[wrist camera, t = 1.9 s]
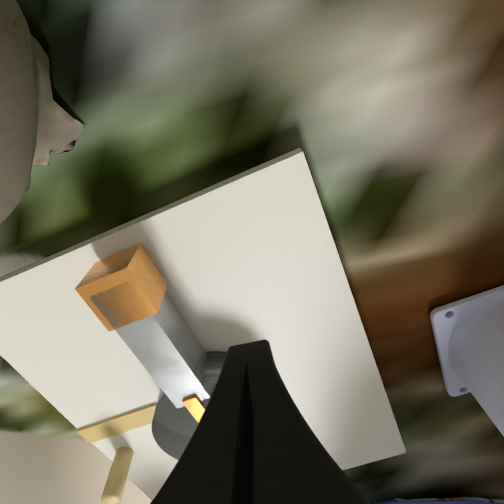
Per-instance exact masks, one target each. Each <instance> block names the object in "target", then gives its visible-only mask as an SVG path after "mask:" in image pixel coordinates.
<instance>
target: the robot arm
mask: <svg viewBox="0 0 504 504" xmlns="http://www.w3.org/2000/svg"><path fill="white" fill-rule="evenodd" d="M449 311H450V312H449ZM447 312H449V313H447ZM446 313H447V314H446ZM430 320H431V324H432V329H433V333H434V338H435V342H436V347H437V351H438V356H439V360H440V365H441V370H442V374H443V379H444V383H445V388H446V391H447V393H448V394H449V395H450V396H453V397H456V396H460V395H463V394H466V393H470V392H471V393H472V395H473V396H474V397H475V399H476V400H477V401H478V403H479V404H480V405H481V407H482V408H483V410H484V411H485V412H486V414H487V415H488V416H489V418H490V419H491V420H492V422H493V423H494V424H495V426H496V427H497V428H498V430H499V431H500V432H501V434H502V435H503V436H504V285H503V286H500V287H497V288H494V289H491V290H488V291H485V292H482V293H479V294H476V295H473V296H470V297H467V298H464V299H461V300H458V301H455V302H452V303H449V304H447V305H444V306H441V307H438V308H435V309H434V310H432V311H431V313H430ZM150 504H370V502H369V501H368V500H367V499H366V498H365V497H364V496H363V494H362V493H361V492H360V491H359V490H358V489H357V488H356V486H355V485H354V484H353V483H352V482H351V481H350V479H349V478H348V477H347V476H346V474H345V473H344V472H343V471H342V469H341V468H340V467H339V466H338V464H337V463H336V462H335V461H334V459H333V458H332V457H331V456H330V454H329V453H328V452H327V450H326V449H325V448H324V446H323V445H322V444H321V442H320V441H319V439H318V438H317V437H316V435H315V434H314V432H313V431H312V429H311V428H310V427H309V425H308V424H307V422H306V421H305V419H304V417H303V416H302V414H301V413H300V411H299V409H298V408H297V406H296V404H295V403H294V401H293V399H292V398H291V396H290V394H289V392H288V390H287V388H286V386H285V384H284V383H283V381H282V379H281V377H280V374H279V372H278V370H277V368H276V365H275V362H274V358H273V355H272V351H271V347H270V343H269V341H267V340H266V339H264V340H259V341H254V342H249V343H244V344H239V345H235V346H230V347H229V349H228V351H227V354H226V357H225V360H224V364H223V366H222V369H221V372H220V375H219V377H218V380H217V383H216V385H215V388H214V390H213V392H212V395H211V397H210V400H209V402H208V404H207V406H206V409H205V411H204V413H203V415H202V417H201V419H200V421H199V423H198V425H197V427H196V429H195V431H194V433H193V435H192V437H191V439H190V441H189V443H188V444H187V446H186V448H185V450H184V452H183V453H182V455H181V457H180V459H179V460H178V462H177V463H176V465H175V467H174V468H173V470H172V471H171V473H170V475H169V476H168V478H167V479H166V481H165V483H164V484H163V486H162V487H161V489H160V490H159V492H158V493H157V495H156V496H155V498H154V499H153V500H152V502H151V503H150Z"/></svg>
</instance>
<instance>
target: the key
mask: <svg viewBox="0 0 504 504" xmlns="http://www.w3.org/2000/svg"><path fill="white" fill-rule="evenodd" d="M167 285H168V284H167V282H166V281H165V279H164V278H163V276H162V275H161V273H160V272H159V270H158V268H157V267H156V265H155V264H154V262H153V261H152V259H151V258H150V256H149V254H148V253H147V251H146V250H145V248H144V247H143V245H142V244H141V243H140V244H138V245H136V246H133V247H131V248H128V249H126V250H124V251H121V252H119V253H116V254H114V255H112V256H109V257H107V258H105V259H102V260H100V261H97V262H95V264H94V265H93V266H92V267H91V269H90V270H89V271H88V273H87V274H86V275H85V276H84V278H83V279H82V280H81V282H80V283H79V284H78V285H77V287H76V288H75V290H76V291H77V293H78V294H79V295H80V296H81V297H82V299H83V300H84V301H85V302H86V304H87V305H88V306H89V307H90V309H91V310H92V311H93V312H94V314H95V315H96V316H97V317H98V319H99V320H100V321H101V322H102V324H103V325H104V326H105V327H106V329H107V330H108V331H109V332H110V331H112V330H115V331H116V332H117V333H118V335H119V336H120V337H121V338H122V340H123V341H124V342H125V343H126V345H127V346H128V347H129V348H130V350H131V351H132V352H133V353H134V355H135V356H136V357H137V359H138V360H139V361H140V362H141V364H142V365H143V366H144V367H145V369H146V370H147V371H148V372H149V374H150V375H151V376H152V377H153V379H154V380H155V381H156V383H157V384H158V385H159V386H160V392H159V396H158V400H157V404H156V408H155V412H154V416H153V420H152V427H151V428H152V434H153V437H154V439H155V441H156V443H157V444H158V446H159V447H160V448H161V449H162V450H163V451H164V452H165V453H167V454H168V455H170V456H171V457H173V458H175V459H177V460H179V459H180V457H181V455H182V453H183V452H184V450H185V448H186V446H187V444H188V443H189V441H190V439H191V437H192V435H193V433H194V431H195V429H196V427H197V425H198V423H199V421H200V419H201V417H202V415H203V413H204V411H205V409H206V406H207V404H208V402H209V400H210V397H211V395H212V392H213V390H214V388H215V385H216V383H217V380H218V377H219V375H220V372H221V369H222V366H223V364H224V360H225V357H226V354H227V352H223V351H210V352H205V350H204V349H203V347H202V346H201V344H200V343H199V341H198V340H197V338H196V337H195V335H194V334H193V332H192V330H191V329H190V327H189V326H188V324H187V323H186V321H185V320H184V318H183V317H182V315H181V314H180V312H179V311H178V309H177V308H176V306H175V304H174V303H173V301H172V300H171V298H170V297H169V295H168V294H167V292H166V288H167Z"/></svg>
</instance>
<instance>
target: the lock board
mask: <svg viewBox="0 0 504 504" xmlns="http://www.w3.org/2000/svg"><path fill="white" fill-rule="evenodd" d="M140 243H141V244H142V245H143V247H144V248H145V250H146V251H147V253H148V254H149V256H150V258H151V259H152V261H153V262H154V264H155V265H156V267H157V268H158V270H159V272H160V273H161V275H162V276H163V278H164V279H165V281H166V282H167V284H168V285H167V288H166V292H167V294H168V295H169V297H170V298H171V300H172V301H173V303H174V304H175V306H176V308H177V309H178V311H179V312H180V314H181V315H182V317H183V318H184V320H185V321H186V323H187V324H188V326H189V327H190V329H191V330H192V332H193V334H194V335H195V337H196V338H197V340H198V341H199V343H200V344H201V346H202V347H203V349H204V350H205V352H210V351H223V352H227V351H228V349H229V347H230V346H235V345H239V344H244V343H249V342H254V341H259V340H264V339H266V340H267V341H269V343H270V347H271V351H272V355H273V358H274V362H275V365H276V368H277V370H278V372H279V374H280V377H281V379H282V381H283V383H284V384H285V386H286V388H287V390H288V392H289V394H290V396H291V398H292V399H293V401H294V403H295V404H296V406H297V408H298V409H299V411H300V413H301V414H302V416H303V417H304V419H305V421H306V422H307V424H308V425H309V427H310V428H311V429H312V431H313V432H314V434H315V435H316V437H317V438H318V439H319V441H320V442H321V444H322V445H323V446H324V448H325V449H326V450H327V452H328V453H329V454H330V456H331V457H332V458H333V459H334V461H335V462H336V463H337V464H338V466H339V467H340V468H341V469H342V470H346V469H349V468H353V467H357V466H360V465H364V464H367V463H371V462H374V461H378V460H382V459H385V458H389V457H392V456H396V455H400V454H403V453H406V450H405V447H404V444H403V441H402V438H401V435H400V432H399V429H398V426H397V423H396V421H395V418H394V415H393V412H392V409H391V406H390V403H389V400H388V397H387V394H386V391H385V389H384V386H383V383H382V380H381V377H380V374H379V371H378V368H377V365H376V362H375V359H374V357H373V354H372V351H371V348H370V345H369V342H368V339H367V336H366V333H365V330H364V327H363V324H362V322H361V319H360V316H359V313H358V310H357V307H356V304H355V301H354V298H353V295H352V292H351V290H350V287H349V284H348V281H347V278H346V275H345V272H344V269H343V266H342V263H341V260H340V258H339V255H338V252H337V249H336V246H335V243H334V240H333V237H332V234H331V231H330V228H329V226H328V223H327V220H326V217H325V214H324V211H323V208H322V205H321V202H320V199H319V196H318V193H317V191H316V188H315V185H314V182H313V179H312V176H311V173H310V170H309V167H308V164H307V161H306V159H305V156H304V153H303V151H302V150H301V149H300V148H297V149H295V150H293V151H290V152H288V153H286V154H284V155H281V156H279V157H277V158H274V159H272V160H270V161H267V162H265V163H263V164H260V165H258V166H256V167H254V168H251V169H249V170H247V171H244V172H242V173H240V174H237V175H235V176H233V177H230V178H228V179H226V180H224V181H221V182H219V183H217V184H214V185H212V186H210V187H207V188H205V189H203V190H201V191H198V192H196V193H194V194H191V195H189V196H187V197H184V198H182V199H180V200H177V201H175V202H173V203H171V204H168V205H166V206H164V207H161V208H159V209H157V210H154V211H152V212H150V213H147V214H145V215H143V216H141V217H138V218H136V219H134V220H131V221H129V222H127V223H124V224H122V225H120V226H118V227H115V228H113V229H111V230H108V231H106V232H104V233H101V234H99V235H97V236H94V237H92V238H90V239H88V240H85V241H83V242H81V243H78V244H76V245H74V246H71V247H69V248H67V249H64V250H62V251H60V252H58V253H55V254H53V255H51V256H48V257H46V258H44V259H41V260H39V261H37V262H35V263H33V264H30V265H28V266H25V267H23V268H21V269H18V270H16V271H14V272H12V273H9V274H7V275H5V276H2V277H0V355H1V356H2V357H3V358H4V359H5V360H6V361H7V362H8V363H9V364H10V365H11V366H12V367H13V368H14V369H15V370H17V371H18V372H19V373H20V374H21V375H22V376H23V377H24V378H25V379H26V380H27V381H28V382H29V383H30V384H31V385H32V386H33V387H34V388H35V389H36V390H37V391H38V392H40V393H41V394H42V395H43V396H44V397H45V398H46V399H47V400H48V401H49V402H50V403H51V404H52V405H53V406H54V407H55V408H56V409H57V410H58V411H59V412H60V413H61V414H62V415H64V416H65V417H66V418H67V419H68V420H69V421H70V422H71V423H72V424H73V425H74V426H75V427H76V428H77V429H78V431H77V432H78V433H79V434H80V435H81V436H82V437H83V438H84V439H85V440H87V442H89V443H93V444H94V445H95V446H96V447H97V448H98V449H99V450H100V451H101V452H102V453H103V454H104V455H105V456H106V457H108V458H109V459H110V460H111V461H112V462H113V463H112V466H111V469H110V472H109V476H108V479H107V482H106V485H105V488H104V491H103V494H102V497H101V499H102V501H103V502H105V503H108V504H116V503H119V502H120V500H121V497H122V493H123V490H124V486H125V483H126V479H127V477H128V478H129V479H131V481H132V482H134V483H135V484H136V485H137V486H138V487H139V488H140V489H141V490H142V491H143V492H144V493H145V494H146V495H147V496H148V497H149V498H150V499H151V500H153V499H154V498H155V496H156V495H157V493H158V492H159V490H160V489H161V487H162V486H163V484H164V483H165V481H166V479H167V478H168V476H169V475H170V473H171V471H172V470H173V468H174V467H175V465H176V463H177V462H178V460H177V459H175V458H173V457H171V456H170V455H168V454H167V453H165V452H164V451H163V450H162V449H161V448H160V447H159V446H158V444H157V443H156V441H155V439H154V437H153V434H152V428H151V427H152V420H153V416H154V412H155V408H156V404H157V400H158V396H159V392H160V386H159V385H158V384H157V383H156V381H155V380H154V379H153V377H152V376H151V375H150V374H149V372H148V371H147V370H146V369H145V367H144V366H143V365H142V364H141V362H140V361H139V360H138V359H137V357H136V356H135V355H134V353H133V352H132V351H131V350H130V348H129V347H128V346H127V345H126V343H125V342H124V341H123V340H122V338H121V337H120V336H119V335H118V333H117V332H116V331H115V330H112V331H110V332H109V331H108V330H107V329H106V327H105V326H104V325H103V324H102V322H101V321H100V320H99V319H98V317H97V316H96V315H95V314H94V312H93V311H92V310H91V309H90V307H89V306H88V305H87V304H86V302H85V301H84V300H83V299H82V297H81V296H80V295H79V294H78V293H77V291H76V290H75V288H76V287H77V285H78V284H79V283H80V282H81V280H82V279H83V278H84V276H85V275H86V274H87V273H88V271H89V270H90V269H91V267H92V266H93V265H94V264H95V262H97V261H100V260H102V259H105V258H107V257H109V256H112V255H114V254H116V253H119V252H121V251H124V250H126V249H128V248H131V247H133V246H136V245H138V244H140Z"/></svg>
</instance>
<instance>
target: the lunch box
mask: <svg viewBox="0 0 504 504" xmlns="http://www.w3.org/2000/svg"><path fill="white" fill-rule="evenodd" d="M373 504H504V499H485V498H480V497H455V498H425V499H413V500H404V499H399V498H394V499H393V500H387V501H380V502H376V503H373Z"/></svg>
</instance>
